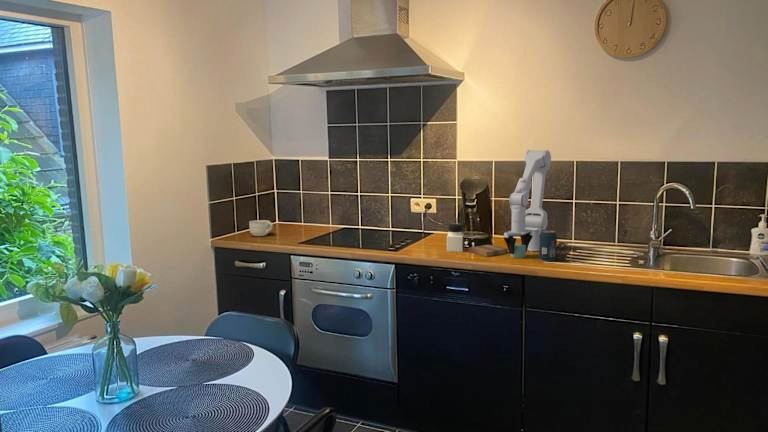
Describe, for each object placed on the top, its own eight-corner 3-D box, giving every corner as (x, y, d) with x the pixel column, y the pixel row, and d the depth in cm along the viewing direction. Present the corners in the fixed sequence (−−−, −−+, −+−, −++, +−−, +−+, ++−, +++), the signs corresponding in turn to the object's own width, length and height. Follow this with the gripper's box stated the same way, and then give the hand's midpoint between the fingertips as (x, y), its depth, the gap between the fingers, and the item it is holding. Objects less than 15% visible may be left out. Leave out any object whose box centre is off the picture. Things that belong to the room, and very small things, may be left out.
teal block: (518, 255, 258) (518, 243, 257) (525, 257, 254) (525, 245, 253) (510, 256, 256) (510, 245, 255) (517, 258, 252) (518, 246, 251)
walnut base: (488, 248, 272) (488, 244, 272) (507, 253, 262) (507, 248, 262) (468, 252, 266) (468, 247, 265) (486, 256, 256) (486, 252, 255)
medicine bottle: (462, 252, 266) (462, 225, 264) (446, 251, 267) (446, 225, 266) (464, 248, 273) (463, 222, 271) (448, 248, 274) (448, 222, 272)
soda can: (543, 257, 252) (543, 229, 251) (559, 259, 248) (559, 230, 246) (536, 260, 247) (536, 231, 245) (552, 262, 243) (552, 233, 241)
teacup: (245, 236, 317) (244, 221, 315) (262, 233, 325) (261, 218, 324) (262, 238, 308) (261, 223, 306) (278, 235, 316) (278, 220, 315)
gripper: (512, 223, 245) (512, 256, 247) (537, 220, 253) (537, 252, 255) (500, 221, 251) (500, 253, 253) (525, 218, 259) (525, 249, 261)
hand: (517, 252), depth 254 cm, fingers open, 7 cm apart
